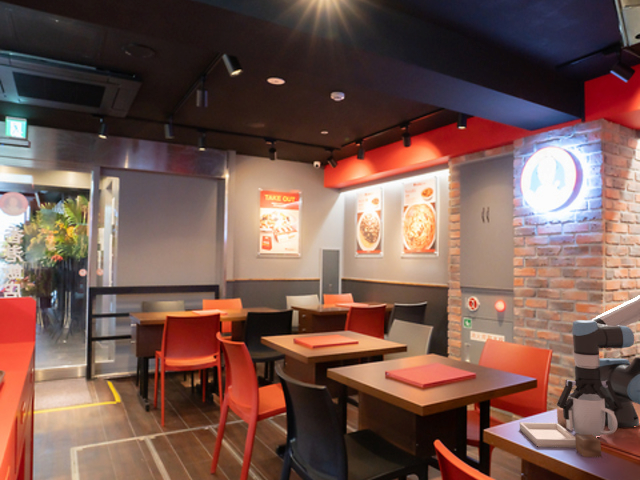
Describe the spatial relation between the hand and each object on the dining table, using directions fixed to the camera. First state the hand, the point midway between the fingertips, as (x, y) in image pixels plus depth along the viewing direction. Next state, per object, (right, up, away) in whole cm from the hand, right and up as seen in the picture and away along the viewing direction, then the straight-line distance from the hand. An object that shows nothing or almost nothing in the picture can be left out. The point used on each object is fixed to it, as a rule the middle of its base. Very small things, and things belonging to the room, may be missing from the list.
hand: (590, 429), depth 151 cm
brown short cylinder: (-3, -3, +10) cm, 11 cm away
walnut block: (-9, -1, -14) cm, 17 cm away
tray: (-15, -2, -1) cm, 15 cm away
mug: (0, -2, 0) cm, 2 cm away
